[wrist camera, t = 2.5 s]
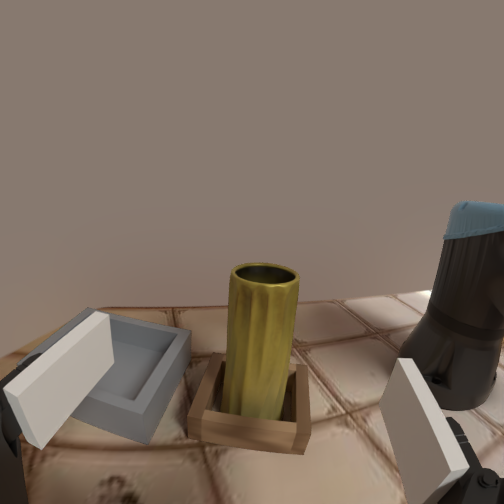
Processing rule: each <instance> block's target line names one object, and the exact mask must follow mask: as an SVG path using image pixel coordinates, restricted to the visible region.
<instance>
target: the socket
mask: <svg viewBox="0 0 504 504" xmlns="http://www.w3.org/2000/svg"><path fill="white" fill-rule="evenodd" d="M225 368H226V354H221V353H215V352H213V354H212V356H211V359H210V361H209V364H208V366H207V369H206V371H205V374H204V376H203V378H202V381H201V383H200V386H199V388H198V391H197V393H196V395H195V398H194V400H193V403H192V405H191V408H190V410H189V413H188V415H187V426H188V438H190V439H195V440H199V441H204V442H209V443H214V444H220V445H225V446H231V447H237V448H244V449H251V450H258V451H266V452H275V453H286V454H299V455H304V452H305V449H306V447H307V444H308V441H309V439H310V436H311V419H310V400H309V384H308V369H307V365H301V364H291V363H289V370H288V377H287V384H286V389H285V391H286V392H291V422H284V421H275V420H267V419H259V418H252V417H245V416H238V415H232V414H226V413H221V412H215V411H211V410H212V407H213V404H214V401H215V398H216V395H217V392H218V389H219V386H220V383H221V382H222V383H224V377H225Z"/></svg>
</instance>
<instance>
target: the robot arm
mask: <svg viewBox="0 0 504 504" xmlns="http://www.w3.org/2000/svg"><path fill="white" fill-rule="evenodd" d="M443 239H444V244H443V249H442V254H441V258H440V263H439V267H438V271H437V275H436V279H435V282H434V286H433V290H432V293H431V297H430V300H429V303H428V307H427V310H426V312H425V314H424V316H423V317H422V319H421V320H420V322H419V323H418V324H417V326H416V327H415V328H414V330H413V331H412V333H411V334H410V336H409V337H408V338H407V340H406V341H405V342H404V343H403V345H402V346H401V348H400V351H399V354H398V357H397V359H396V362H395V366H394V369H393V371H392V374H391V376H390V379H389V381H388V383H387V386H386V388H385V391H384V393H383V395H382V397H381V400H380V402H379V407H380V410H381V413H382V416H383V419H384V422H385V425H386V428H387V431H388V435H389V438H390V441H391V444H392V448H393V451H394V455H395V458H396V461H397V465H398V468H399V472H400V475H401V479H402V483H403V486H404V490H405V494H406V498H407V502H408V504H504V478H499V476H498V475H497V473H496V472H495V471H493V470H491V469H488V468H482V466H481V464H480V462H479V460H478V458H477V456H476V454H475V452H474V450H473V449H472V447H471V445H470V443H468V439H467V437H466V435H464V434H465V433H464V432H463V430H462V428H461V426H460V424H459V423H457V422H456V421H455V420H454V419H453V418H452V417H446V418H445V417H444V415H443V413H442V411H441V409H440V407H441V408H445V409H450V410H469V409H473V408H476V407H478V406H480V405H481V404H483V403H484V402H485V401H486V399H487V398H488V396H489V394H490V392H491V391H492V389H493V387H494V384H495V382H496V375H497V374H496V370H497V366H498V363H499V358H500V352H501V346H502V341H503V338H504V204H495V203H486V202H476V201H461V202H459V203H457V204H456V205H455V206H454V207H453V209H452V210H451V213H450V218H449V222H448V226H447V230H446V234H445V235H444V237H443ZM113 364H114V356H113V348H112V339H111V329H110V319H109V314H105V313H101V312H97V311H95V312H94V313H93V314H92V315H90V316H89V317H88V318H87V319H85V320H84V321H83V322H81V323H80V324H79V325H78V326H76V327H75V328H74V329H73V330H71V331H70V332H69V333H68V334H67V335H65V336H64V337H63V338H62V339H60V340H59V341H58V342H57V343H55V344H54V345H53V346H52V347H51V348H49V349H48V350H47V351H46V352H45V353H43V354H42V353H37V354H35V355H33V356H30V357H29V358H27V359H26V360H25V361H24V362H22V365H21V364H20V365H19V366H18V367H16V370H15V369H14V370H13V371H12V372H10V373H9V374H8V375H7V376H6V377H4V378H3V379H2V380H1V381H0V504H29V503H28V498H27V493H26V486H25V480H24V473H23V465H22V455H21V443H20V439H19V437H18V436H19V435H20V434H21V432H23V434H24V436H25V438H26V440H27V442H29V443H30V444H32V445H34V446H35V447H37V448H39V449H41V450H42V449H43V448H44V447H45V445H46V444H47V443H48V442H49V440H50V439H51V438H52V437H53V435H54V434H55V433H56V432H57V431H58V429H59V428H60V427H61V426H62V424H63V423H64V422H65V421H66V420H67V418H68V417H69V416H70V415H71V413H72V412H73V411H74V410H75V409H76V407H77V406H78V405H79V404H80V403H81V401H82V400H83V399H84V398H85V397H86V395H87V394H88V393H89V392H90V391H91V389H92V388H93V387H94V386H95V385H96V384H97V382H98V381H99V380H100V379H101V378H102V377H103V375H104V374H105V373H106V372H107V371H108V369H109V368H110V367H111V366H112V365H113Z"/></svg>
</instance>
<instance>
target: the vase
mask: <svg viewBox="0 0 504 504" xmlns="http://www.w3.org/2000/svg"><path fill="white" fill-rule="evenodd" d="M299 279H300V277H299V274H298V273H297V272H296V271H294V270H292V269H290V268H288V267H285V266H281V265H277V264H271V263H245V264H241V265H238V266H236V267H234V268H233V269H232V271H231V275H230V283H229V303H228V325H227V350H226V368H225V377H224V385H223V397H222V402H221V405H220V412H221V413H226V414H232V415H238V416H245V417H252V418H259V419H267V420H275V421H280V420H281V419H282V417H283V413H284V407H283V400H284V395H285V389H286V384H287V377H288V370H289V363H290V355H291V347H292V340H293V332H294V322H295V315H296V308H297V301H298V292H299V281H300V280H299Z"/></svg>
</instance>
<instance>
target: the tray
mask: <svg viewBox="0 0 504 504" xmlns="http://www.w3.org/2000/svg"><path fill="white" fill-rule="evenodd" d="M95 311H97V312H101V313H105V314H109V319H110V329H111V339H112V348H113V356H114V364H113V365H112V366H111V367H110V368H109V369H108V371H107V372H106V373H105V374H104V375H103V377H102V378H101V379H100V380H99V381H98V382H97V384H96V385H95V386H94V387H93V388H92V389H91V391H90V392H89V393H88V394H87V395H86V397H85V398H84V399H83V400H82V401H81V403H80V404H79V405H78V406H77V407H76V409H75V410H74V411H73V412H72V413H71V415H70V416H72V417H74V418H76V419H78V420H81V421H83V422H85V423H88V424H90V425H93V426H95V427H98V428H100V429H103V430H106V431H108V432H111V433H114V434H116V435H119V436H122V437H125V438H128V439H131V440H134V441H137V442H140V443H143V444H147V445H148V444H149V442H150V440H151V438H152V436H153V434H154V432H155V430H156V428H157V426H158V424H159V422H160V420H161V418H162V416H163V414H164V412H165V410H166V408H167V406H168V404H169V402H170V400H171V398H172V396H173V394H174V392H175V390H176V388H177V386H178V384H179V382H180V380H181V378H182V376H183V374H184V372H185V370H186V368H187V366H188V364H189V362H190V360H191V330H186V329H181V328H175V327H170V326H165V325H161V324H156V323H151V322H147V321H142V320H137V319H133V318H129V317H124V316H120V315H116V314H112V313H108V312H104V311H100V310H96V309H92V308H86V309H85V310H84V311H82V312H81V313H80V314H78V315H77V316H76V317H75V318H73V319H72V320H71V321H69V322H68V323H67V324H65V325H64V326H63V327H62V328H60V329H59V330H58V331H56V332H55V333H54V334H53V335H51V336H50V337H49V338H48V339H46V340H45V341H44V342H43V343H41V344H40V345H39V346H38V347H36V348H35V349H34V350H33V351H31V352H30V353H29V354H28V355H27V356H25V357H24V358H23V359H22V360H20V361H19V362H18V363H17V367H18V366H19V365H20V364H21V365H22V362H24V361H25V360H26V359H27V358H29V357H30V356H33V355H35V354H37V353H42V354H43V353H45V352H46V351H47V350H48V349H49V348H51V347H52V346H53V345H54V344H55V343H57V342H58V341H59V340H60V339H62V338H63V337H64V336H65V335H67V334H68V333H69V332H70V331H71V330H73V329H74V328H75V327H76V326H78V325H79V324H80V323H81V322H83V321H84V320H85V319H87V318H88V317H89V316H90V315H92V314H93V313H94V312H95Z"/></svg>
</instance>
